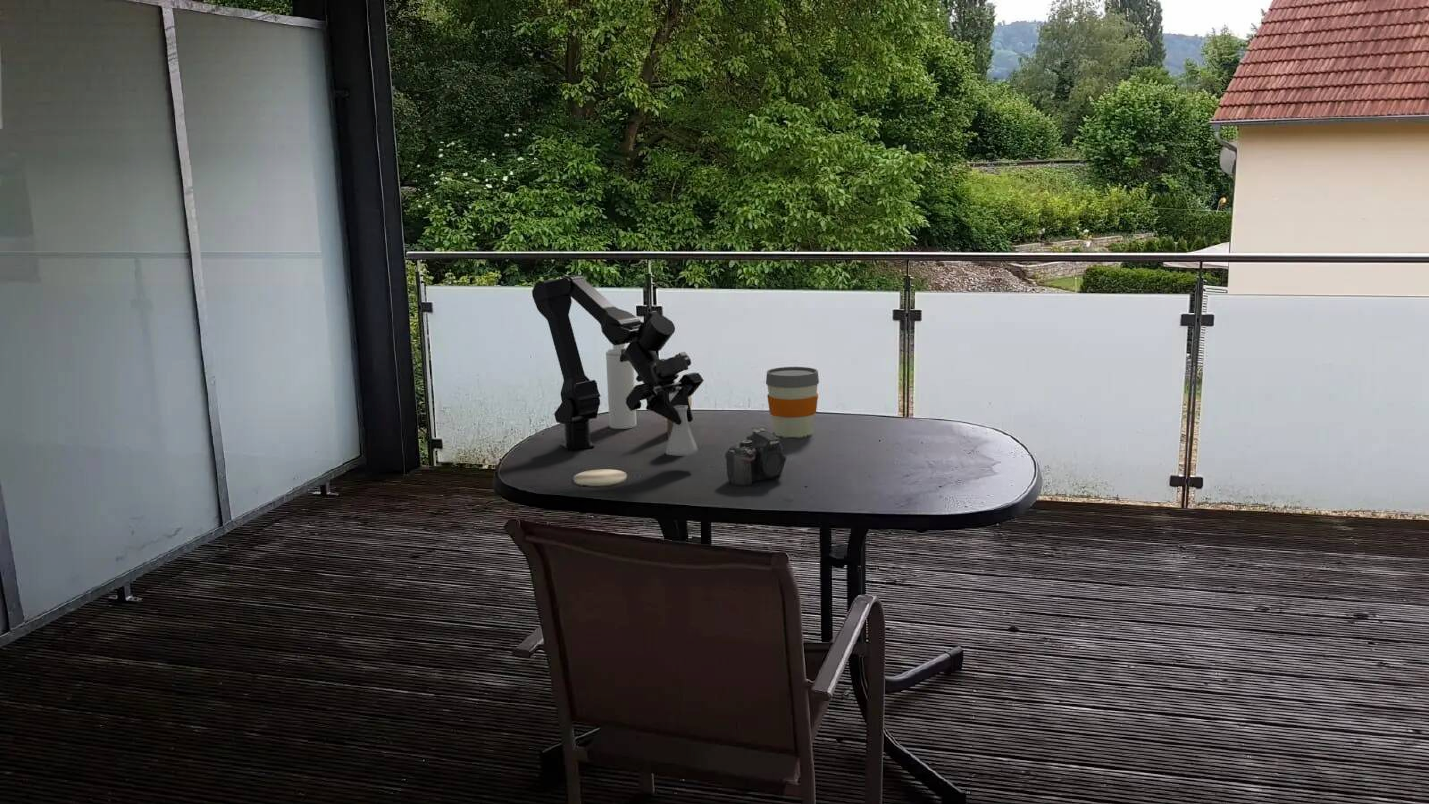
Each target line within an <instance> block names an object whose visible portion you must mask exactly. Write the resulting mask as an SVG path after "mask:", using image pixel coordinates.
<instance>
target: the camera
mask: <svg viewBox="0 0 1429 804" xmlns="http://www.w3.org/2000/svg"><path fill="white" fill-rule="evenodd" d="M745 438H746V439H745V440H741V442H739V444H736V445H733V446H731V447H729V448H728V449H727V451H726V452H725V455H724V456H725V460H726V474H727V479H728V481H729V482H730V483H732V484H734V485H737V486H742V487H744V486H745V487H748V486H751V484H752V482H756V481H760V480H765V479H768V478H769V479H770V478H774V477H777V476H779V475H781V474H782V473H783V469H784V468H785V462H786V461H787V457H786V456H785V455H784V453H783V448H782V447H783V446H782V444H781V440H780V438H779V436H777V435H775V433H772V432H770V431H768V430H766V429H764V428H759V429H758V430H756V429H753V431H752V434H750V435H748V436H747V437H745Z"/></svg>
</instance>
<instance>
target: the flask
mask: <svg viewBox="0 0 1429 804" xmlns="http://www.w3.org/2000/svg"><path fill="white" fill-rule="evenodd" d="M673 407H674V408H675V410H676V412H677V413H678V415H679V417H680V419H681V421H682V423H681V424H680V425H677V424H676V423H674V425H673V428H672V432H671V435H670V438H669V441H668V440H667V445H666V448H665V454H666V455H669V456H675V457H676V456H677V457H679V456H682V457H683V456H692V455H694V454H697V453H699V449H698V446H697V443H696V441H695V439H694V436H693V433H692V430H691V426H690V427H689V424H688V419H687V409H688V406H686V405H676V406H673Z"/></svg>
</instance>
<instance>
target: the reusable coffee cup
mask: <svg viewBox="0 0 1429 804" xmlns="http://www.w3.org/2000/svg"><path fill="white" fill-rule="evenodd" d="M819 378H820V377H819V370H818V369H816V368H813V367H805V366H783V367H781V366H780V367H775V368H770V369H768V370H767V371H766V378H765V384H766V385H767V392H768V393H767V395H766V397H767V403H768V411H769V415H771V417H772V419H771V420H772V424H773V432H774V433H773V434H774V435H775V436H777V435H778V436H777V437H780V436H783V437H782V438H787V437H797V438H804V437H803V436H805V437H808V436H807V435H809V436H811V435H812V434H813V426H814V421H815V420H814V418H815V414H817V409H818V408H817V407H818V401H819V400H818V399H819V393H817V392H818V384H820V379H819Z"/></svg>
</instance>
